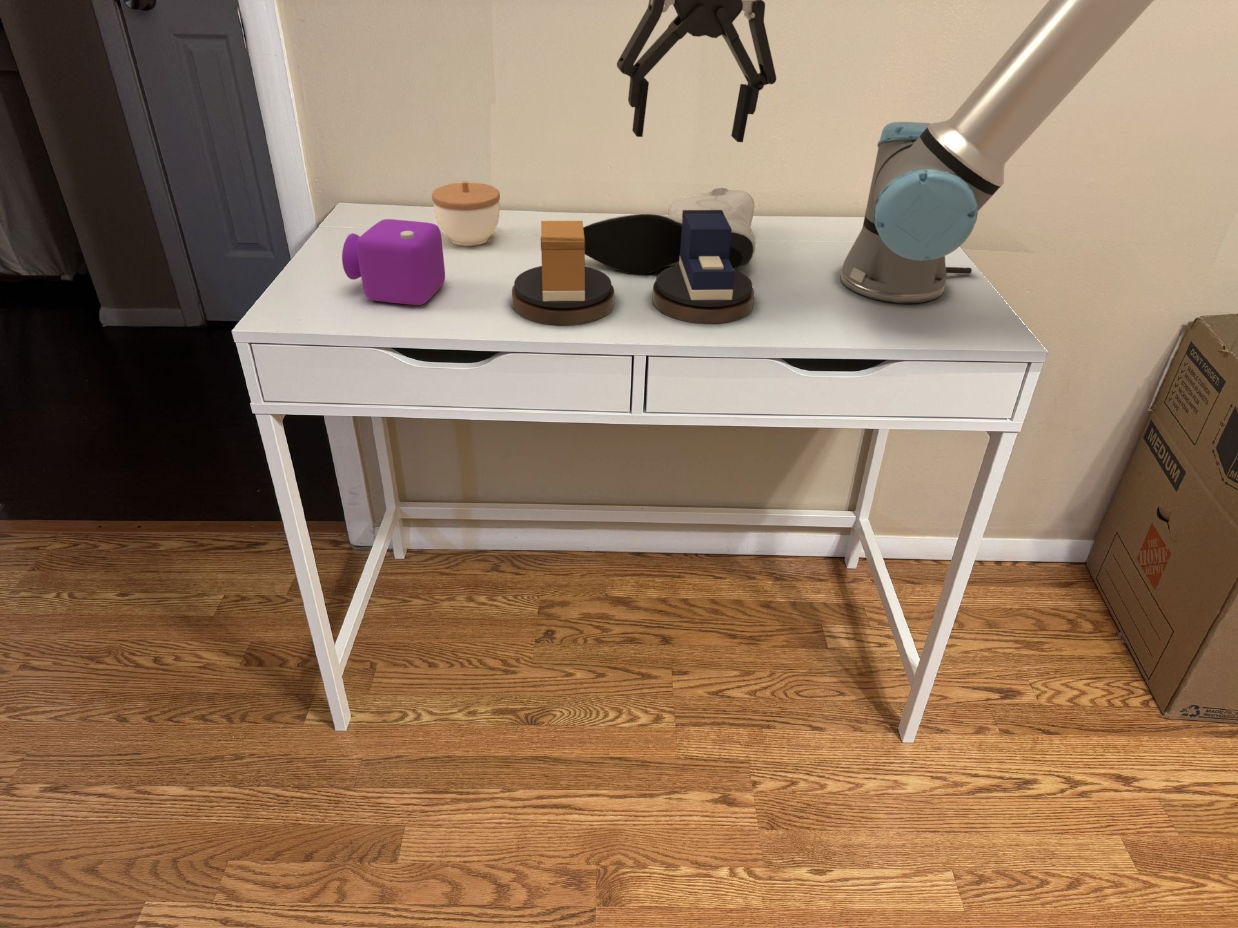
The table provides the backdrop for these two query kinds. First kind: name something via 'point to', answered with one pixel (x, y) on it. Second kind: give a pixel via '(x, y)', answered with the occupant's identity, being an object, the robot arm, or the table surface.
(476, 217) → the trinket box
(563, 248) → the tan sneaker
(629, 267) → the cowboy boot
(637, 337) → the table surface
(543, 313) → the turntable base
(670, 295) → the navy and black piece
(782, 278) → the table surface
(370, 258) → the toy camera
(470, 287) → the table surface
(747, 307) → the turntable base
